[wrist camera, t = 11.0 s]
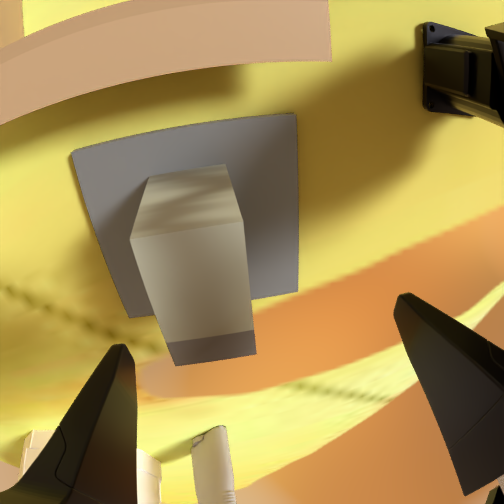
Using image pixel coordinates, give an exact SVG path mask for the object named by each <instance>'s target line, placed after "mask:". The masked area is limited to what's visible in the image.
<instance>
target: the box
mask: <svg viewBox="0 0 504 504" xmlns="http://www.w3.org/2000/svg"><path fill="white" fill-rule="evenodd" d="M130 243H131V246H132V249H133V252H134V256H135V259H136V262H137V265H138V268H139V271H140V274H141V277H142V280H143V283H144V286H145V288H146V291H147V294H148V297H149V300H150V302H151V305H152V308H153V311H154V313H155V316H156V319H157V321H158V324H159V326H160V329H161V332H162V334H163V337H164V339H165V342H166V344H167V347H168V349H169V352H170V354H171V356H172V359H173V361H174V364H175V366H182V365H189V364H197V363H204V362H211V361H218V360H225V359H231V358H237V357H243V356H249V355H255V354H256V345H255V334H254V325H253V314H252V305H251V295H250V285H249V275H248V265H247V255H246V245H245V234H244V224H243V219H242V216H241V213H240V209H239V206H238V203H237V200H236V196H235V193H234V190H233V187H232V184H231V180H230V177H229V174H228V171H227V167H226V164H221V165H214V166H207V167H200V168H194V169H188V170H182V171H176V172H170V173H164V174H159V175H153V176H149V179H148V182H147V185H146V188H145V191H144V194H143V197H142V200H141V203H140V206H139V210H138V213H137V216H136V219H135V223H134V226H133V229H132V233H131V236H130Z"/></svg>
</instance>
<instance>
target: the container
mask: <svg viewBox="0 0 504 504" xmlns="http://www.w3.org/2000/svg"><path fill="white" fill-rule="evenodd" d="M54 432H55V430H32V432H31V433H30V434H29V435H28V436H27V437H26V438H25V441H24V446H23V452H22V457H21V463H20V470H19V476H18V481H19V480H20V479H21V478H22V476H23V475H24V474H25V472H26V471H27V470H28V468H29V467H30V466H31V464H32V463H33V462H34V460H35V459H36V458H37V456H38V455H39V454H40V452H41V451H42V450H43V448H44V447H45V445H46V444H47V442H48V441H49V439H50V438H51V436H52V435H53V433H54ZM161 479H162V477H161V462H159V461H158V460H156V459H155V458H153V457H152V456H150V455H149V454H147V453H146V452H144V451H143V450H141V449H137V499H138V504H161V493H160V484H161Z"/></svg>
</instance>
